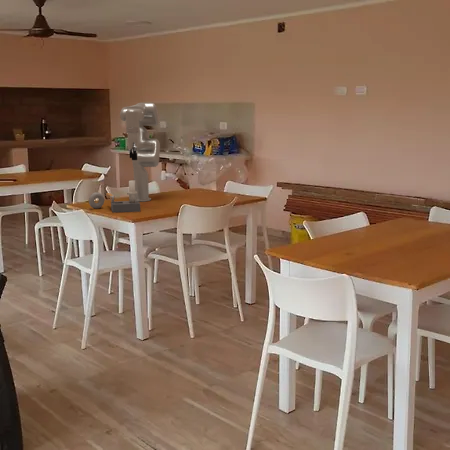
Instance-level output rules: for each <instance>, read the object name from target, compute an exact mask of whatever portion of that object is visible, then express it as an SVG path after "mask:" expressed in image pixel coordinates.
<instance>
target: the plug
mask: <svg viewBox="0 0 450 450" xmlns="http://www.w3.org/2000/svg"><path fill="white" fill-rule="evenodd" d="M136 194H137V192H136V191H135V180H134V179H133V180H128V191H126V195H128V201H129V202H130V203H135V195H136Z"/></svg>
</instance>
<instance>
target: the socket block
mask: <svg viewBox="0 0 450 450" xmlns="http://www.w3.org/2000/svg"><path fill="white" fill-rule="evenodd" d="M110 210H111V212H112V213H113V214H115V213H117V214H118V213H138V212H139V213H140V212H141V203H140V201H135V203H130V202H129V200H122V201H120V200H119V201H118V200H117V201H116V200H111V199H110Z"/></svg>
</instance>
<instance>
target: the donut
mask: <svg viewBox="0 0 450 450" xmlns="http://www.w3.org/2000/svg"><path fill="white" fill-rule="evenodd" d="M96 199H98V201H97V202H95V200H96ZM104 203H105V197H104V195H103V193H101V192H96V191H95V192H93V193H91V194H90V195H89V198H88V204H89V206H90V207H91V208H93V209H100V208H102V207H103V206H104Z"/></svg>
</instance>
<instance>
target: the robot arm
mask: <svg viewBox="0 0 450 450" xmlns="http://www.w3.org/2000/svg"><path fill="white" fill-rule="evenodd" d="M119 117H120V119H121V121H122V122H125V130H126V132H125V133H126V134H127V149H128V150H129V159H131V162H132V167H133V169H132V170H133V180H135V191H136V192H137V194H136V195H135V201H138V202H149V201H151V200H152V198H151V197H149V195H150V194H149V188H150V187H149V172H148V170H147V169H146V168H156V167H158V166H159V164H160V163H159V162H160V154H161V153H160V152H161V143H160V141H159V139H157V138H150V132H149V131H148V129H147V128H146V126H148V127H149V126H150V127H151V126H152V127H155V126H158V125H159V123H160V115H159V110H158V107H157V105H156V104H155V103H154V102H138V103H136V104H134V105H130V106H129V105H128V106H123V107H122V108H121V110H120V112H119Z"/></svg>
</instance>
